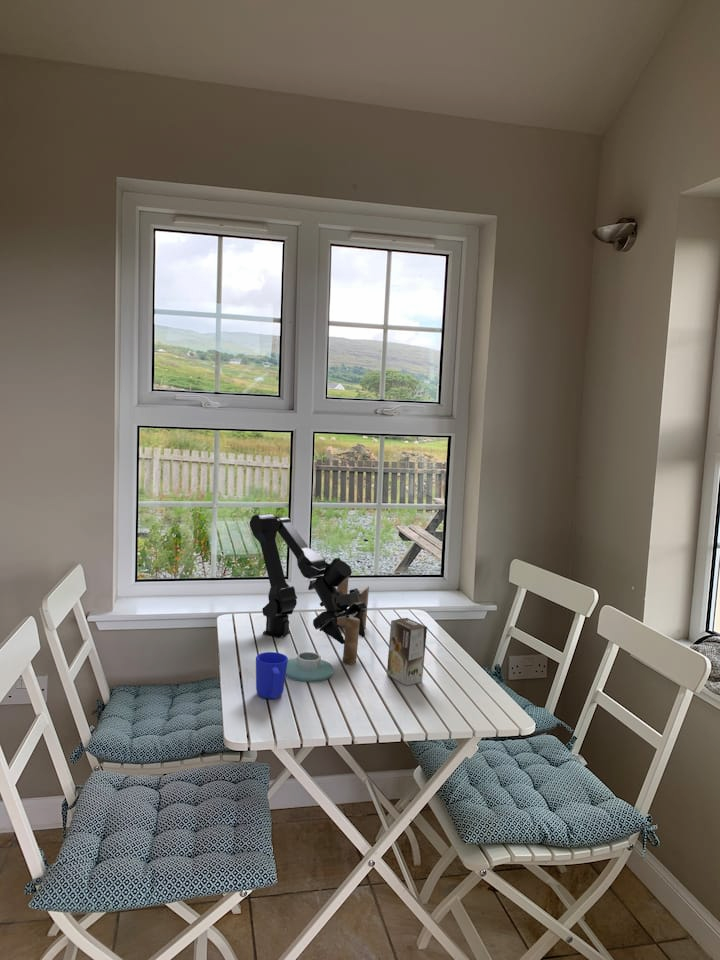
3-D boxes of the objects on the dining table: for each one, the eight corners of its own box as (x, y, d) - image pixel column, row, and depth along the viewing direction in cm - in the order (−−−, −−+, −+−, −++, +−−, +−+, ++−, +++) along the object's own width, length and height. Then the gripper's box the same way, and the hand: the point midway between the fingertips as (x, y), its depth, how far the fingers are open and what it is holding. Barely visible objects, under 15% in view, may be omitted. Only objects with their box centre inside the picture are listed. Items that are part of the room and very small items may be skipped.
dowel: (340, 662, 219) (343, 619, 217) (346, 658, 223) (349, 616, 221) (352, 665, 217) (355, 622, 216) (358, 661, 221) (362, 619, 219)
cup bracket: (273, 673, 207) (274, 657, 206) (299, 658, 219) (300, 643, 219) (316, 686, 201) (318, 670, 200) (341, 670, 213) (342, 655, 213)
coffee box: (423, 682, 210) (428, 626, 208) (406, 686, 206) (411, 630, 204) (402, 670, 217) (407, 617, 215) (385, 674, 213) (390, 620, 211)
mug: (258, 709, 184) (260, 670, 183) (251, 688, 196) (253, 652, 194) (290, 707, 187) (293, 669, 185) (282, 687, 198) (284, 651, 197)
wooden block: (363, 630, 250) (368, 577, 247) (332, 625, 252) (336, 573, 249) (365, 626, 253) (370, 575, 251) (335, 622, 255) (339, 571, 253)
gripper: (323, 585, 212) (349, 633, 207) (364, 575, 227) (390, 620, 221) (301, 605, 218) (326, 652, 213) (342, 594, 233) (367, 638, 227)
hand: (354, 640), depth 218 cm, fingers open, 9 cm apart
